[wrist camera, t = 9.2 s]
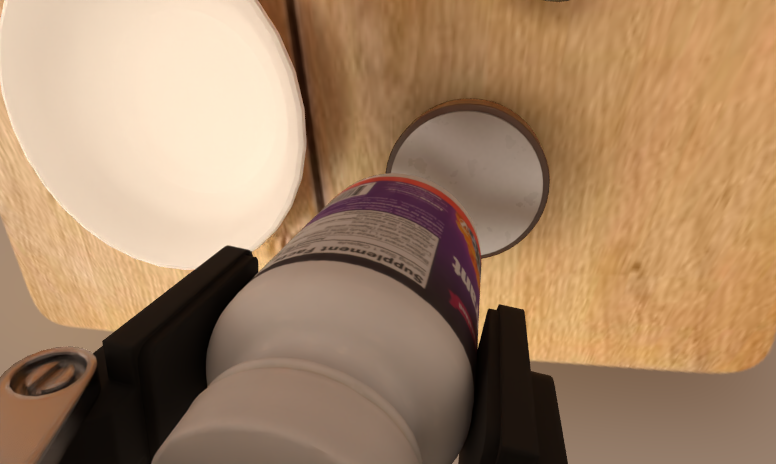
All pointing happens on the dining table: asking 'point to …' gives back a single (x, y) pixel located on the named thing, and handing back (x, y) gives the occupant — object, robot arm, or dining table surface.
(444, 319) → the pill bottle
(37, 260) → the dining table surface
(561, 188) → the dining table surface
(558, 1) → the light bulb
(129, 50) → the bowl
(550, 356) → the dining table surface
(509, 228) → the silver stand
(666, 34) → the dining table surface
